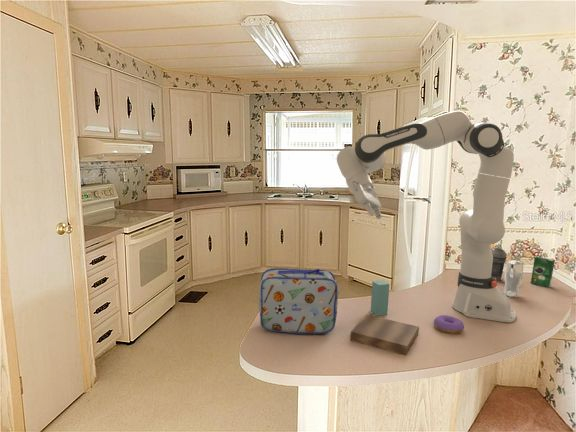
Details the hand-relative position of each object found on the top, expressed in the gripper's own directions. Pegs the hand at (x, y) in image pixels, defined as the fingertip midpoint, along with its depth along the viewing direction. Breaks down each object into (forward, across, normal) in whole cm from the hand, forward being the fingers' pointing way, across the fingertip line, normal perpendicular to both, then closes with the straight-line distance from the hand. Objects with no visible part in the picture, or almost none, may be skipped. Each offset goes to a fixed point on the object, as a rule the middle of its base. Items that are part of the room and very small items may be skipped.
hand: (376, 216), depth 151 cm
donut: (+46, +8, -3) cm, 47 cm away
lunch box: (+27, -20, +37) cm, 50 cm away
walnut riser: (+40, -10, +13) cm, 43 cm away
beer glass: (+45, +58, -26) cm, 77 cm away
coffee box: (+46, +81, -39) cm, 101 cm away
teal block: (+31, +8, +17) cm, 37 cm away
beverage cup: (+36, +78, -23) cm, 89 cm away
